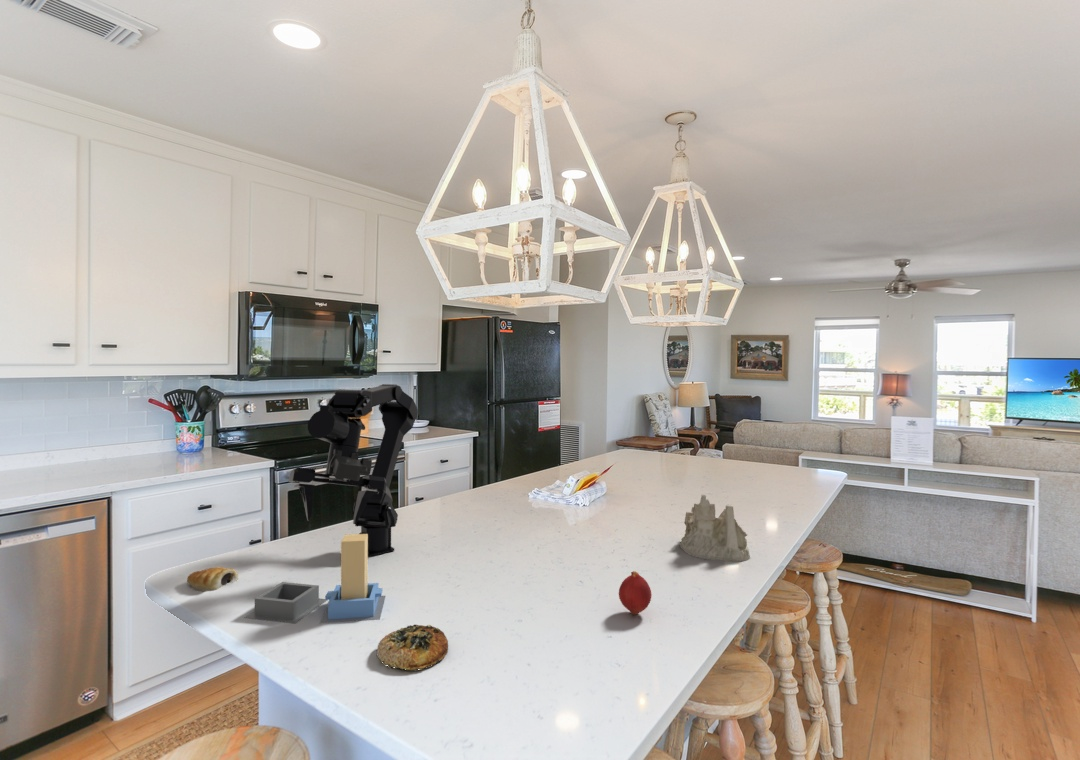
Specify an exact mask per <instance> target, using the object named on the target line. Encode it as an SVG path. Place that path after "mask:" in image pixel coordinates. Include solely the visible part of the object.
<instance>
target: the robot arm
mask: <svg viewBox="0 0 1080 760" xmlns="http://www.w3.org/2000/svg"><path fill="white" fill-rule="evenodd" d="M377 406H378V411H379V413H381V415H382V416H381V421H382V424H383V427H384V433H383V436H382V438H381V439H382V440H381V442H380V446H379V449H378V452H377V456H376V459H375V463H374V466H373V469H372V465H373V460H372V459H370V458H363V457H362V458H361V459H360V460H359V453H360V452H359V445H360V439H361V432H362V431H365V430H366V426H365V424H364V423H363V421H362V419H361V417H366V416H367V415H369V414H370V413H371V412H373V407H377ZM418 415H419V409H418V407H417V404H416V403H415V401H414V398H412V397H411V396H410V395H408V394H407V393H406V392H404V391H403V388H402V387H401V386H400V385H398V384H389V383H384V384H379V385H378V386H374V387H371V388H366V389H337V390H336V391H335V392H334V395H333V396H332V397H331V399H330V400H329V401H328V403H327V404H322V405H321V404H320V407H319V411H316V412H315V413H314V414H312V415H311V417H310V419H309V420H308V422H307V430H308V433H309V435H310V436H311V437H312V438H315V439H318V440H321V441H324V442H327V443H330V445H329V451H328V454H327V456H328V457H327V462H326V468H325V472H324V473H319V472H318V473H317V472H316V469H314V468H306V467H300V466H299V467H295V468H293V469H292V470H290V472H289V476H288V483H292V484H293V483H294V488H296V489H297V488H298V489H299V491H300V494H301V497H302V502H303V507H304V513H305V516H306V521H307V522H310V521H311V519H312V514H313V513H312V512H313V501H314V499H313V498H314V492H315V487H316V485H315V484H313V483H322V484H331V485H332V484H334V485H340V486H352V487H358V490H357V493H356V497H355V499H354V501H353V502H354V503H353V504H352V516H353V518H352V519H353V520H352V523H353V524H352V525H354V526H355V527H360V528H361V529H360V532H359V533H358V534H368V557H373V556H377V555H380V554H385V553H390V552H395V547H393V546H392V528H394V527H396V525H397V524H398V523H397V522H398V516H399V515H398V512H397V511H396V510H395V508H394V506H393V501H394V500H393V496H392V494H391V490H390V486H391V482H392V479H393V475H394V472H395V467H396V465H397V461H398V457H399V455H400V451H401V447H402V443H403V439H404V436H405V435H406V434H407V433H408V432H410V430H412V429H413V427H414V425H415V422H416V420H417V417H418ZM371 471H372V472H371ZM361 476H362V477H361Z"/></svg>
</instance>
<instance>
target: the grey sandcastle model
mask: <svg viewBox="0 0 1080 760" xmlns="http://www.w3.org/2000/svg"><path fill="white" fill-rule="evenodd" d="M683 522H684V523H683V524H684V525H685V530H684V532H685V533H684V536H683V537H682V538H681V541H680V546H679V547H680V549H682V550H683V551H684V552H685V553H686V554H687V553H688V554H687V555H690V556H693V557H696V558H700V559H703V560H712V561H725V562H727V561H729V562H744V561H745V562H746V561H748V560H751V555H750V549H749V547H748V546H747V545H748V540H747V538H746V537H747V536H748V533H746V531H745V530H744V529H743V528H742V527H741V526H740V525H739V523H738V522H737V520H736V518H735V514H734V505H732V504H726V505H725V508H724V509H723V511H721V513H720V515H719V516H718V517H716V504H715V503H711V502H710V500H709V498H707V495H706V494H704V493H702V494H701V496H700V500H699V503H697V502H695V503H693V506H692V507H691V510H690V511H686V512H685V517H684V521H683Z"/></svg>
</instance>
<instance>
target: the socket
mask: <svg viewBox="0 0 1080 760" xmlns="http://www.w3.org/2000/svg"><path fill="white" fill-rule="evenodd" d="M319 587H320V585H317V584H306V583H298V582H296V583H295V582H289V581H288V582H287V581H282V582H279V583H278V584H276V585H275V586H273V587H272V588H270V589H267V591H265V592H263V593H262V594H260V595H258V596H256V597H254V611H252V612H251V613H249V614H248V615H246V616H244V617H243V618H244V619H251V620H257V621H267V622H277V623H284V624H298V622H300V621H301V620H303V619H304V618H305V617H307V616H308V615H310V614H311V613H312V612H313V611H315V610H316V609H317V608H319V607H320V606H322V605H324V603H326V602H327V601H328V600H325V598H320V593H319V591H320V588H319Z"/></svg>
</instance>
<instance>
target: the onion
mask: <svg viewBox="0 0 1080 760" xmlns="http://www.w3.org/2000/svg"><path fill="white" fill-rule="evenodd" d="M630 573H631V575H629V576H627V577H626V578H624V579H623V580H622V582H621V583H620V586H619V589H618V598H619V600H620V602H621V604H622V606H623V607H624V608H625V609H627V610H628V611H629V612H630V613H631V614H632V615H634V616H635V615H636V616H637V615H639V614H640V613H642V612H643V611H645V610H646V609H647V608H648V607H649V605H650V603H651V601H652V595H653V594H652V590H651V587H650V585H649V583H648V582H647V580H646V579H645V578H644V577H643V576H641V575H640V573H639V572H637V571H636V570H633V571H632V572H630Z"/></svg>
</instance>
